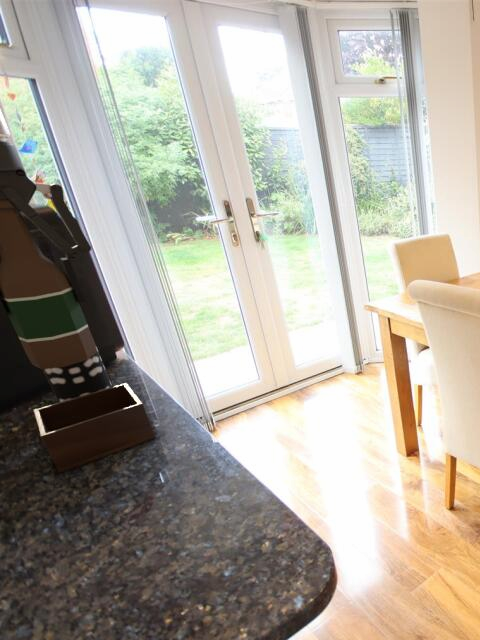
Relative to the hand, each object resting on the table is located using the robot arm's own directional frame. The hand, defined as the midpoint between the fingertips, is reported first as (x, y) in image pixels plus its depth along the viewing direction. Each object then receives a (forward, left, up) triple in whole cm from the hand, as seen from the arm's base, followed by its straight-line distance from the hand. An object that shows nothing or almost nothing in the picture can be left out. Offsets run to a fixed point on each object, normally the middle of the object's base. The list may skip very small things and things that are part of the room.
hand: (43, 306), depth 69 cm
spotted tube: (-19, +12, -24) cm, 33 cm away
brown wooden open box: (0, 0, -24) cm, 24 cm away
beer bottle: (0, 0, -9) cm, 9 cm away
